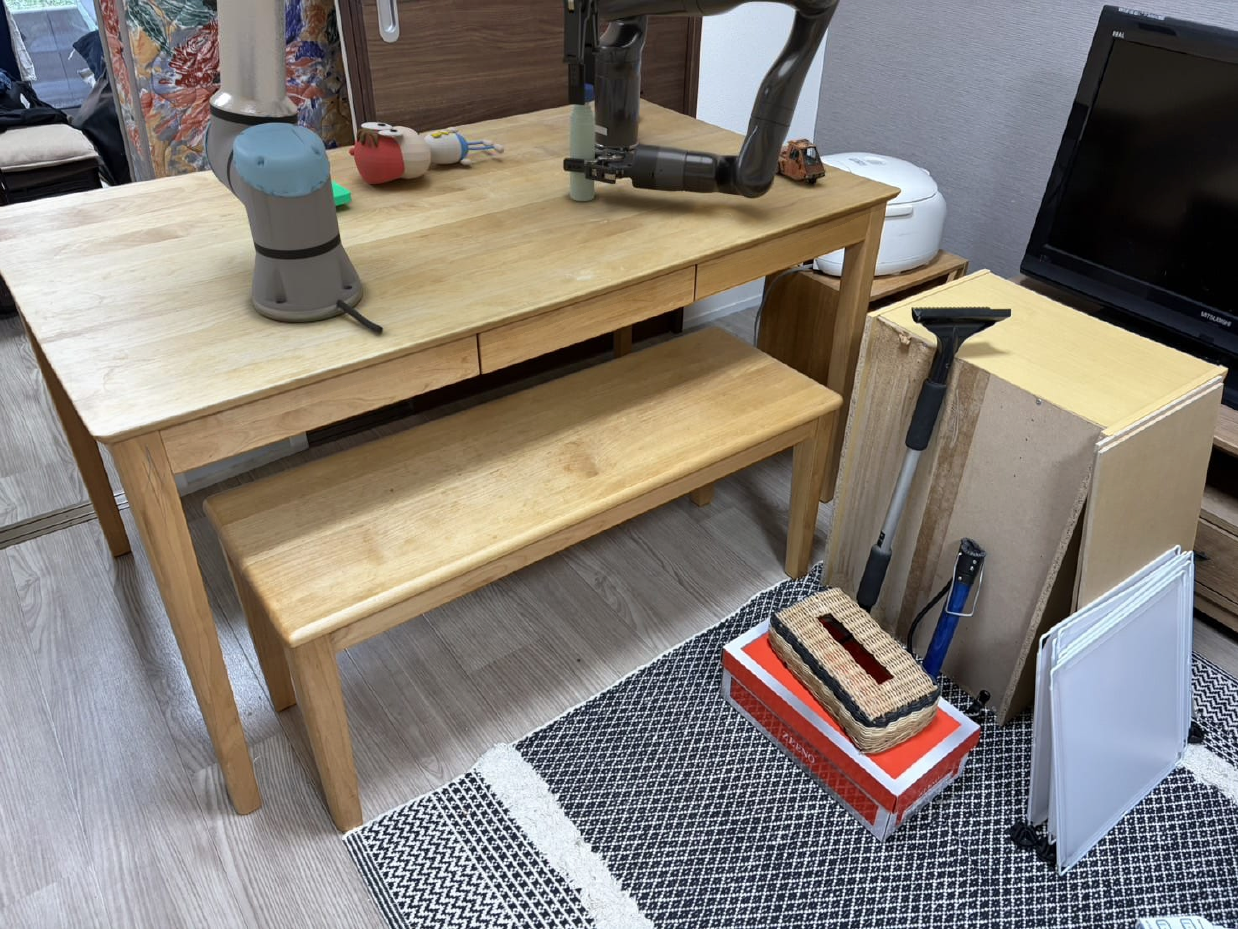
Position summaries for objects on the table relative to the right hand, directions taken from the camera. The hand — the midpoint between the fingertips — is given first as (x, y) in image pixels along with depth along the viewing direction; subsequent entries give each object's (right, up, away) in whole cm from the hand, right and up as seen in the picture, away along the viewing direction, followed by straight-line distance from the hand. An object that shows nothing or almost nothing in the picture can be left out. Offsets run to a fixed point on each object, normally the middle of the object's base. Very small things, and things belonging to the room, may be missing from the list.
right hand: (567, 159), depth 166 cm
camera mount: (-44, -8, -2) cm, 45 cm away
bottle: (+2, -6, +4) cm, 7 cm away
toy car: (+44, +1, +15) cm, 46 cm away
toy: (-27, +2, +13) cm, 30 cm away
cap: (+3, +10, -8) cm, 13 cm away
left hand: (+3, +8, -7) cm, 11 cm away
